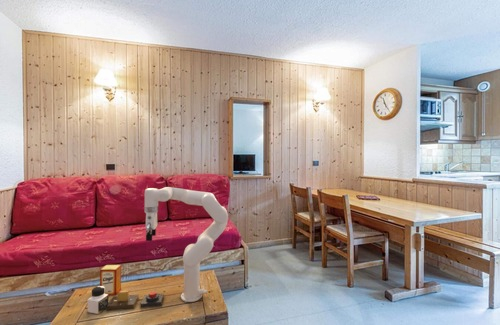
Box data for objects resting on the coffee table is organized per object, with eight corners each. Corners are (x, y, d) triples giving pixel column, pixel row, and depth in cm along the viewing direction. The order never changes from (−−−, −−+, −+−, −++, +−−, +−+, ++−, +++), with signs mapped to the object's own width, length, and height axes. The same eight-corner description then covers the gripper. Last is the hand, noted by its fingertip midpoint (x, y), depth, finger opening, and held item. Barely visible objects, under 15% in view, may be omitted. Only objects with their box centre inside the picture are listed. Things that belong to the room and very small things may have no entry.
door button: (156, 294, 147) (156, 291, 147) (155, 297, 143) (155, 294, 143) (150, 294, 146) (150, 291, 146) (148, 298, 143) (148, 295, 143)
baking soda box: (99, 295, 151) (100, 269, 151) (105, 289, 158) (105, 264, 158) (115, 295, 152) (116, 269, 152) (120, 289, 158) (121, 264, 158)
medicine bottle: (98, 314, 133) (98, 292, 133) (87, 312, 134) (87, 290, 134) (108, 306, 140) (108, 285, 140) (97, 304, 141) (97, 283, 141)
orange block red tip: (128, 298, 143) (128, 289, 143) (127, 300, 142) (127, 291, 142) (118, 299, 142) (118, 290, 142) (117, 301, 141) (117, 292, 141)
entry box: (163, 297, 150) (163, 290, 150) (160, 306, 141) (161, 299, 141) (144, 298, 148) (144, 292, 148) (140, 307, 139) (140, 300, 139)
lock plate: (138, 298, 148) (138, 294, 148) (133, 308, 138) (133, 303, 138) (113, 300, 146) (113, 296, 146) (106, 310, 136) (106, 306, 136)
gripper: (154, 212, 139) (154, 242, 139) (160, 206, 156) (160, 233, 156) (140, 212, 138) (140, 243, 138) (148, 206, 155) (147, 233, 155)
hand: (150, 238), depth 147 cm, fingers open, 9 cm apart
